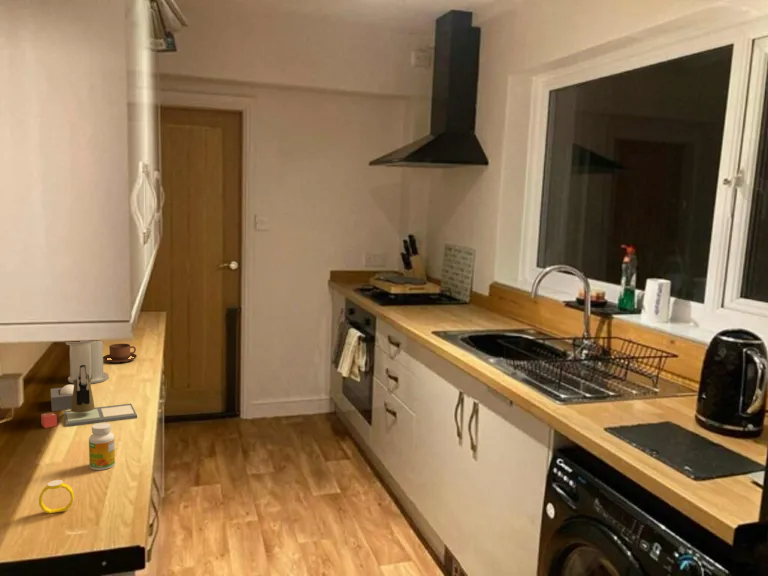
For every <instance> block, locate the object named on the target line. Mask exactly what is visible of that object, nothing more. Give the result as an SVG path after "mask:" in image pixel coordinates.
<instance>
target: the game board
mask: <svg viewBox="0 0 768 576" xmlns="http://www.w3.org/2000/svg"><path fill="white" fill-rule="evenodd" d="M133 406H134V405H133V404H132V403H124V404H123V403H122V404H117V405H116V404H114V405H106V406H98V407H97V406H96V407H95V409H94V410H92V411H88V412H80V413H78V412H72V411H71V409H69V410H63V414H64V420H65V421H64V422H65V426H66V427H67V428H68V427H74V426H77V427H78V426H84V425H90V424H92V425H94V424H98V423H108V422H115V421H125V420H129V419H131V420H132V419H138V415H137V413H136V410H135V408H134V407H133Z"/></svg>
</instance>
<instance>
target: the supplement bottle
mask: <svg viewBox="0 0 768 576" xmlns="http://www.w3.org/2000/svg"><path fill="white" fill-rule="evenodd" d="M111 425H112V424H111V423H108V422H101V423H94V424H92V426H91V433H92V434H90V436H89V438H88V451H89V452H88V457H89V459H88V460H89V461H88V462H89V468H90V469H91V470H94V471H105V470H108V469H112V468H113V467H114V466H115V464H116V458H115V457H116V454H115V453H116V451H115V448H116V447H115V445H116V443H115V435H114V433H112V426H111Z"/></svg>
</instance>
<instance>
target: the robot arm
mask: <svg viewBox="0 0 768 576" xmlns="http://www.w3.org/2000/svg"><path fill="white" fill-rule="evenodd" d="M103 342H104V341H80V342H66V341H65V345H67V346H69V376H68V378H67V381H68V383H70V384H74V383H73V381H74V380H77V391H76V394H77V405H82V403H84V404H89V403H90V398H89V389H88V380H89V379H90V378H91V373H92V380H91V381H90V384H97V383H98V384H99V383H101V382H105V381H107V380H108V379H109V373H107V372H104V359H103V357H104V346H103V345H104V344H103ZM88 375H89V376H88ZM79 377H81V380H79ZM88 378H89V379H88ZM79 382H81V383H80V384H79Z"/></svg>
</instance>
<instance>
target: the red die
mask: <svg viewBox="0 0 768 576" xmlns="http://www.w3.org/2000/svg"><path fill="white" fill-rule="evenodd" d="M40 418H41V426H42V427H43V428H45V429H47V428H53V427H57V426H58V415H57V414H56V413H55V412H54V411H52V412H47V413H41V415H40Z"/></svg>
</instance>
